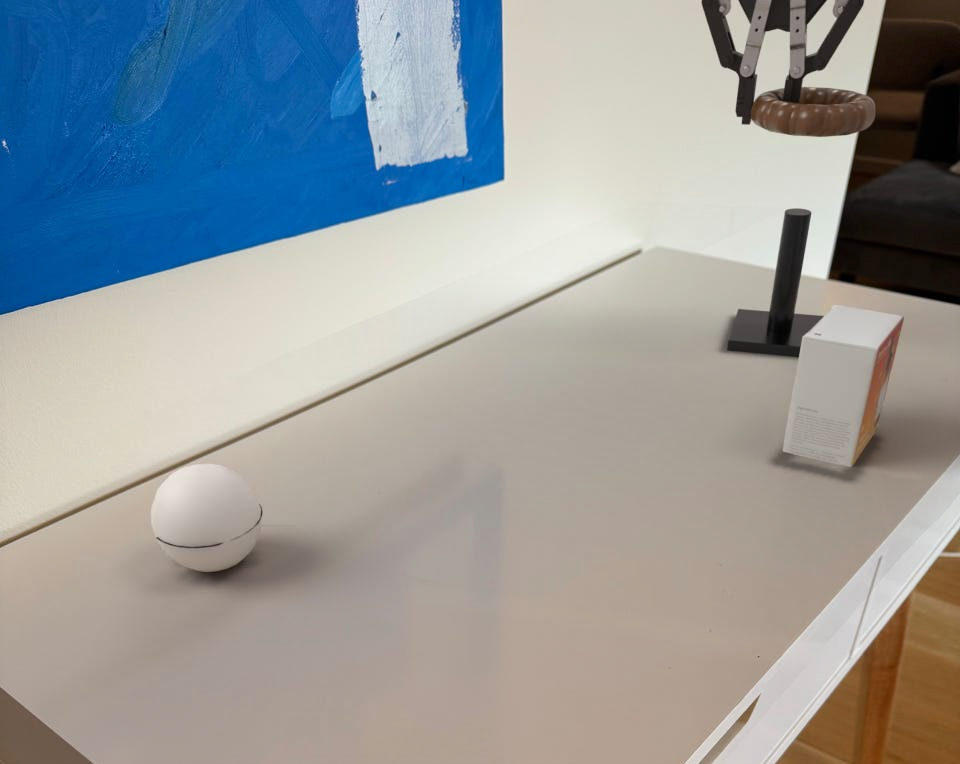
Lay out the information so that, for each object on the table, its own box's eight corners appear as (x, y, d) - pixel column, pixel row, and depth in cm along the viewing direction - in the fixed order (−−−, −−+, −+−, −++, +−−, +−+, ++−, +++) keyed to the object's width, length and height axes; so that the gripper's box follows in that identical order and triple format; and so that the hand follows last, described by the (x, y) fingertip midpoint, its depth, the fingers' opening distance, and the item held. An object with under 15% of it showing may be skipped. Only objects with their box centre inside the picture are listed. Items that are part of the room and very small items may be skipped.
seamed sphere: (140, 579, 69) (114, 484, 65) (207, 527, 75) (187, 436, 70) (260, 613, 66) (241, 516, 61) (321, 556, 71) (308, 463, 67)
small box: (848, 481, 78) (878, 349, 71) (778, 464, 80) (801, 335, 74) (876, 440, 83) (907, 314, 77) (809, 425, 86) (833, 302, 79)
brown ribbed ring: (871, 117, 91) (877, 87, 90) (871, 142, 84) (878, 110, 82) (754, 112, 94) (758, 83, 92) (744, 136, 86) (748, 104, 85)
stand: (825, 327, 103) (850, 201, 96) (821, 361, 96) (847, 228, 89) (736, 319, 105) (753, 196, 98) (726, 352, 99) (743, 222, 91)
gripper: (702, -116, 78) (680, 129, 89) (892, -120, 75) (845, 136, 85) (714, -119, 84) (692, 112, 94) (891, -122, 80) (847, 118, 91)
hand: (765, 122), depth 90 cm, fingers closed on brown ribbed ring, 2 cm apart
